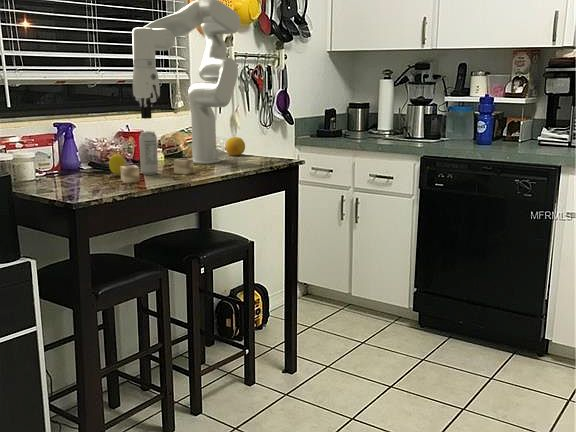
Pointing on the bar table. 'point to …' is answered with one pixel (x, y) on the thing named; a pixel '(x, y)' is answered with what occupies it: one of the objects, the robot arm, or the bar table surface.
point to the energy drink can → (148, 153)
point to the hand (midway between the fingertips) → (146, 118)
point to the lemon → (116, 163)
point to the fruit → (235, 146)
